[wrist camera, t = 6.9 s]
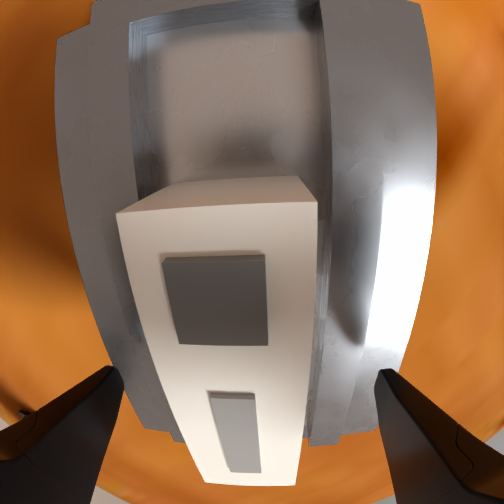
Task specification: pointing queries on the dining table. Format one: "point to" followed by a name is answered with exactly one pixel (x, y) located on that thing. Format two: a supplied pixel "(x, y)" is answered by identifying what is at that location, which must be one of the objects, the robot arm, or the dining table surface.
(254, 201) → the white rectangular block
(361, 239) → the mount plate
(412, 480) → the robot arm
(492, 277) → the dining table surface
